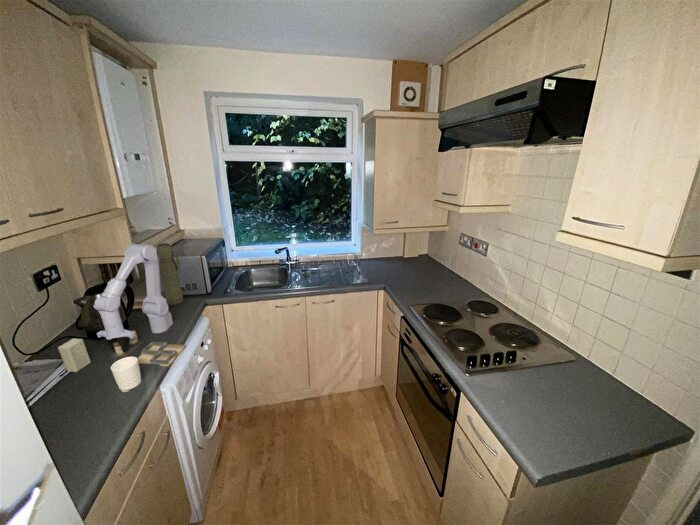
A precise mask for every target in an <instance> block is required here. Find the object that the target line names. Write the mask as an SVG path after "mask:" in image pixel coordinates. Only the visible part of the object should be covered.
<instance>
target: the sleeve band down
mask: <svg viewBox="0 0 700 525" xmlns="http://www.w3.org/2000/svg"><path fill="white" fill-rule="evenodd" d="M130 331H131V332H135V336H134V337H133V338H130V341H129V346H130V347H132V346H136V345H138V344H139V341H140V340H139V339H138V334H137V332H136V330H134V329H133V330H130Z"/></svg>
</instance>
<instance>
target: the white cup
mask: <svg viewBox="0 0 700 525" xmlns="http://www.w3.org/2000/svg"><path fill="white" fill-rule="evenodd" d="M137 358H138V357H136V356H126V357H121V359H118V360H116V361H115V362H113V363H112V365H111V366H110V370H111V373H112V375H113V378H114V380H115V383H116V384H117V385H118V389H119V391H120V392H122V393H123V392H124V393H126V392H129V390H131V389H133V388H136V387H137V386H138V387H139V386H141V382H142V377H141V376H142V374H141V370H140V369H141V368H140V363H138V359H137Z"/></svg>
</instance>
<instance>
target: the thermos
mask: <svg viewBox="0 0 700 525" xmlns="http://www.w3.org/2000/svg"><path fill="white" fill-rule="evenodd" d="M155 248H156V249H157V256H158V258H159V270H160V278H161V280H162V281H161V282H162V284H163V289H164V298H165V299H166V301H167V304H168V306H176V305H179V304H182V303H183V302H184V296H183V295H184V294H183V290H182V288H181V285H180V280H179V274H178V273H179V270H180V261H179V257H178V253H177V252H176V251H173V248H172V246H171V244H170V243H167V242H163V243H159V244H157V245H156V247H155ZM174 256H175V257H174Z"/></svg>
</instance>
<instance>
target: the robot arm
mask: <svg viewBox="0 0 700 525" xmlns="http://www.w3.org/2000/svg"><path fill="white" fill-rule="evenodd" d="M156 248H157V247H155V246H153V245H152V244H141V243H140V244H139V243H129V244H128V246H127V247H126V250H124V252H123V254H124V258H123V260H122V262H121V265H120V267H119V269H118V272H117V274H116V275H115V277H113V278H111V279H109V281H107V283H106V284H107V285H106V287H105V288H104V290H103V292H102V294H101V296H99V297H97V298H96V299H95V301H94V304H93V308H94V309H95V310H97V311H98V313H99V314H100V315H99V316H100V318H101V321H102V324H103V327H104V330H100V331H98V332H96V335H97V338H102V337H104V339H103V340H102V342H103V343H104V344H106V345H107V346H108V347H109V348H110V350H112V352H113V353H116V351H115V348H114V345H113V342H115V341H117V343H118V344H119V345H120V346H121V349H122V351H123V353H126V352H127V351H128V350H129V341H130V338H133V337H134V336H135V332H131V331H132V330H127V329H125V328H124V325H123V320H122V318H121V315H120V311H119V307H120V306H121V296H122V295H123V293H124V290H125V289H126V287H127V282H126V280H127V278H128V277H129V275H130V274H131V272H132V271H133V269H134V268H135V266H136V265H138V264H140V263H143V264H144V270H145V271H144V272H145V273H144V274H145V285H146V297H145V298H144V299H143V300H142V301H143V302H142V306H141V310H142V312H143V314H146V316H147V317H148V321H149V326H150V329H151V332H152V333H153V334H161V333H163V332H166V331H168V330H169V328H170V327H171V326H172V325H174V323H173V317H172V313H171V312H170V311H169V305H168V304H167V301H166V299H165V296H163V295H162V290H161V289H162V288H161V276H160V270H159V258H158V256H157V249H156Z"/></svg>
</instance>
